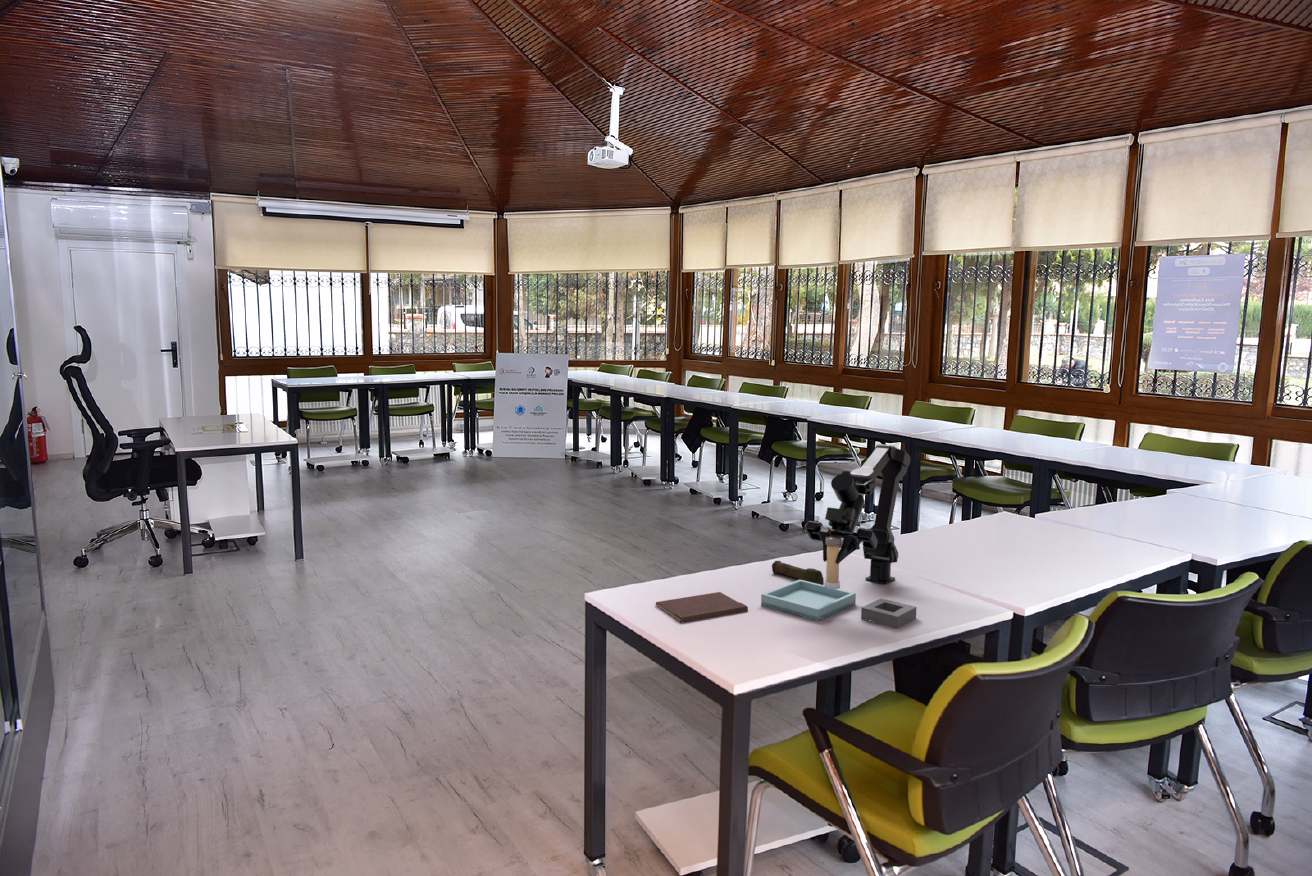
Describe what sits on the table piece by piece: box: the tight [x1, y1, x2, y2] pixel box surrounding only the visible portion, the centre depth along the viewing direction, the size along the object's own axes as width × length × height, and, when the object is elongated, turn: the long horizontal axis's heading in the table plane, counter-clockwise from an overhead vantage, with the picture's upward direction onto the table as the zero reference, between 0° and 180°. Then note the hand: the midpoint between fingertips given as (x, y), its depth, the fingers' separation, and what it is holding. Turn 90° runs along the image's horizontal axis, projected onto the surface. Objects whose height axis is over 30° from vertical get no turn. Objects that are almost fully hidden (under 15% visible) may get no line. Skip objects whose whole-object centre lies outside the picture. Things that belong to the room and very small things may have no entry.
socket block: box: [860, 597, 918, 629], centre depth 212 cm, size 10×10×3 cm
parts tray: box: [760, 579, 857, 621], centre depth 223 cm, size 18×18×3 cm
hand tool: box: [771, 560, 825, 585], centre depth 245 cm, size 19×4×5 cm, turn 35°
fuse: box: [824, 536, 842, 589], centre depth 216 cm, size 4×4×13 cm
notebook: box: [655, 591, 749, 624], centre depth 221 cm, size 15×20×2 cm
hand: (830, 562), depth 215 cm, fingers closed on fuse, 3 cm apart
